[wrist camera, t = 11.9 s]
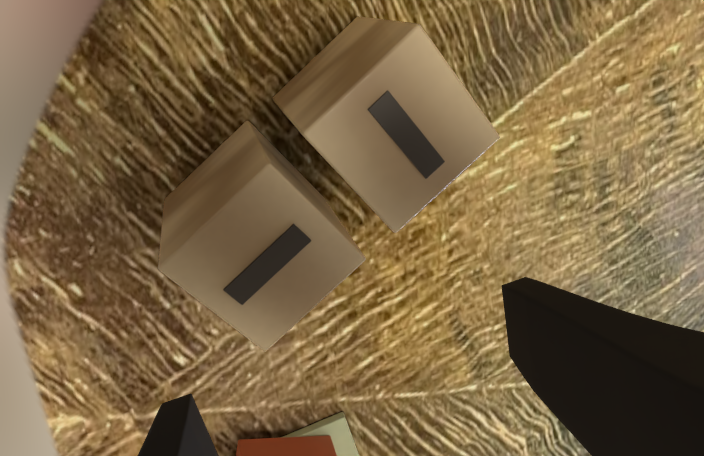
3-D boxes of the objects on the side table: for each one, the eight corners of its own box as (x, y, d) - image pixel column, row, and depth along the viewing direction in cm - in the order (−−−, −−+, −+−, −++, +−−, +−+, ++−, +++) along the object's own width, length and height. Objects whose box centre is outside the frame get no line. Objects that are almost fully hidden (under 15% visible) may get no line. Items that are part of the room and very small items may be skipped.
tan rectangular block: (345, 178, 21) (396, 236, 16) (270, 98, 19) (302, 135, 14) (426, 103, 21) (503, 138, 16) (358, 15, 19) (421, 22, 14)
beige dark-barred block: (246, 270, 21) (265, 355, 16) (163, 199, 19) (156, 270, 14) (324, 197, 21) (368, 261, 16) (247, 119, 19) (270, 163, 14)
